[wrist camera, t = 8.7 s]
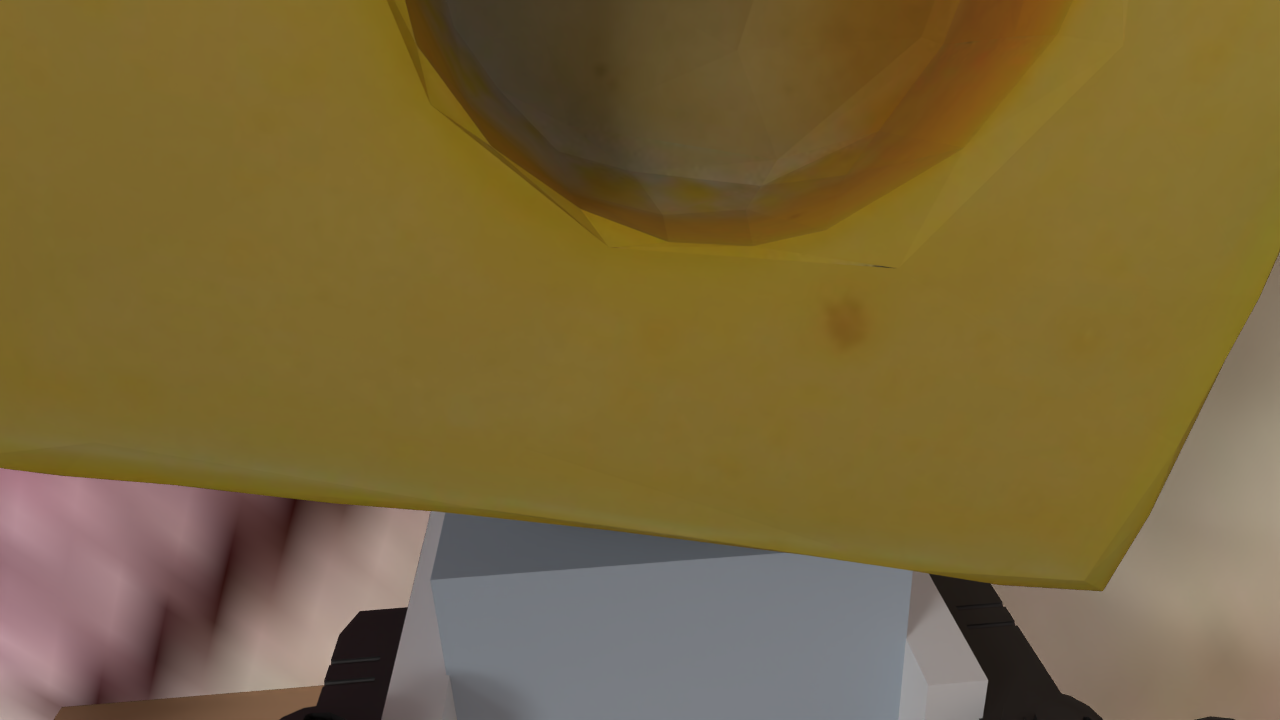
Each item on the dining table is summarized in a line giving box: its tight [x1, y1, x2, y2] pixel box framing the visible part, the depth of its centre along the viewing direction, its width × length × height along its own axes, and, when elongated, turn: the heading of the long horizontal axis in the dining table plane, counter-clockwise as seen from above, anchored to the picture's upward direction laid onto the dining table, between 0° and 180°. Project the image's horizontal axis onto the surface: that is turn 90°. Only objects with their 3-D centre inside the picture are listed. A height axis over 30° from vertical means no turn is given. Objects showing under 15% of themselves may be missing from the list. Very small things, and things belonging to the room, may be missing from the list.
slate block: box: [430, 513, 913, 720], centre depth 15 cm, size 6×6×6 cm
